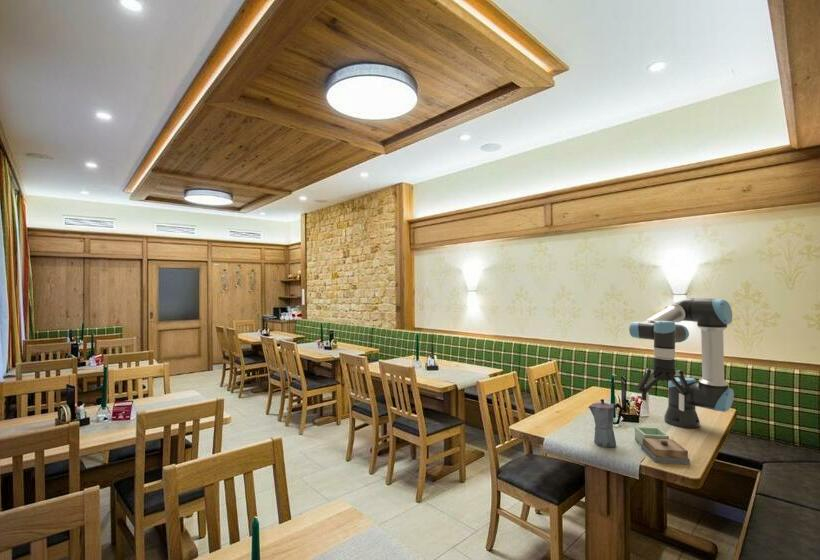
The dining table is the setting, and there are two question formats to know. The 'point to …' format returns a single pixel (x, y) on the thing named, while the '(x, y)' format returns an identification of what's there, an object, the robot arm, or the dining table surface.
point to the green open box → (649, 434)
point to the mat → (665, 458)
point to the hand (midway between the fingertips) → (663, 409)
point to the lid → (665, 448)
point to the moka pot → (604, 423)
